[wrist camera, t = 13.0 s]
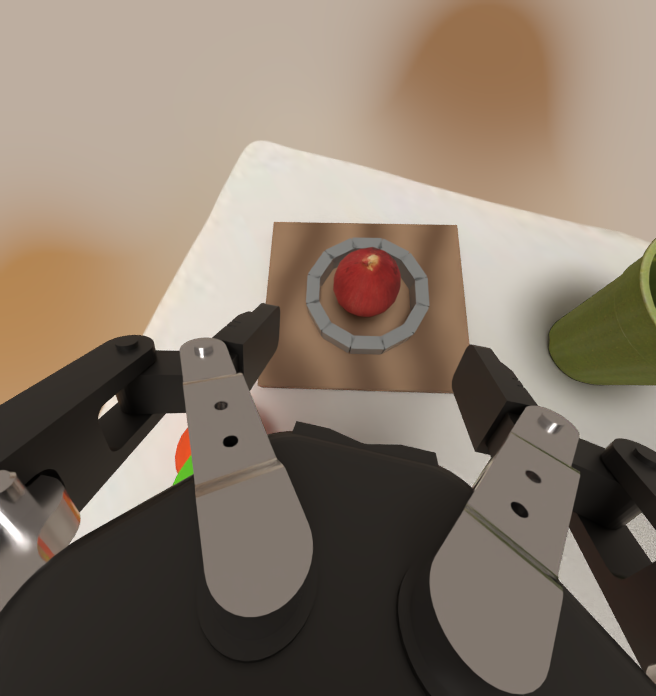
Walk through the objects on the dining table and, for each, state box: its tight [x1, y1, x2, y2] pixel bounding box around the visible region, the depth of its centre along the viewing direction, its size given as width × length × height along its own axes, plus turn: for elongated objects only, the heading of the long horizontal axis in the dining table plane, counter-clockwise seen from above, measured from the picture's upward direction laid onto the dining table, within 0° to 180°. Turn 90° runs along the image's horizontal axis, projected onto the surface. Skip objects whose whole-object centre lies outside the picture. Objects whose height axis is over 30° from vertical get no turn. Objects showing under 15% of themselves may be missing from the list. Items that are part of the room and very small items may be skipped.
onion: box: [333, 247, 401, 317], centre depth 23 cm, size 6×6×8 cm
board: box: [258, 222, 469, 393], centre depth 28 cm, size 20×18×2 cm
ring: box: [306, 238, 429, 355], centre depth 26 cm, size 11×11×2 cm
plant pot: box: [549, 238, 656, 385], centre depth 22 cm, size 12×12×11 cm
